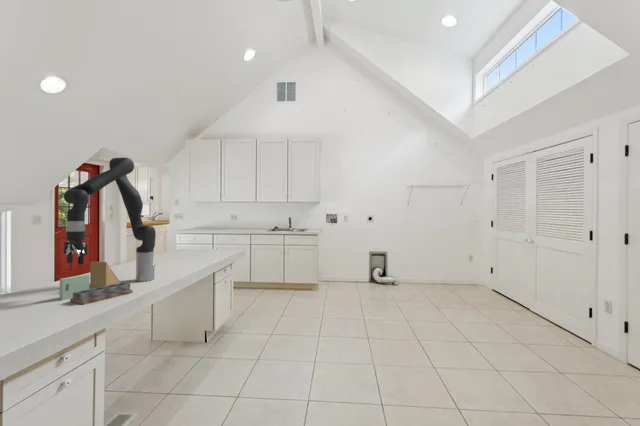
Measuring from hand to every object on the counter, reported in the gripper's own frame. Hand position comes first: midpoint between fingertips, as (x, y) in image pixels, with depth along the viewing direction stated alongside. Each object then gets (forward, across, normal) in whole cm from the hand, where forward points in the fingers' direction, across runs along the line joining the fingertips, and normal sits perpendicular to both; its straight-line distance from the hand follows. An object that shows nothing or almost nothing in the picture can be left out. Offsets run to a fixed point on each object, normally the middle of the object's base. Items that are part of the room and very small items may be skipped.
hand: (75, 263), depth 162 cm
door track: (+16, -12, -6) cm, 21 cm away
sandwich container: (+17, +8, -22) cm, 28 cm away
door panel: (+16, 0, 0) cm, 17 cm away
